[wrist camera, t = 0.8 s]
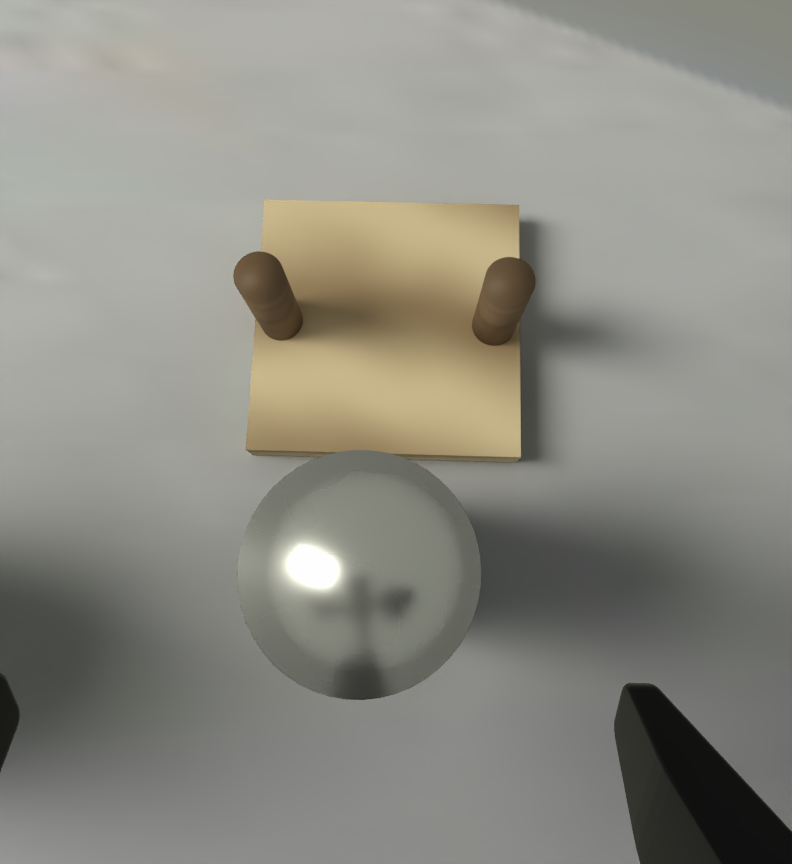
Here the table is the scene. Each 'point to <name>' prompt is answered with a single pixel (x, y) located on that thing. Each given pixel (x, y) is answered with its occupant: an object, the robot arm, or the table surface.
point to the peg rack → (386, 330)
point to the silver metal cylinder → (359, 574)
